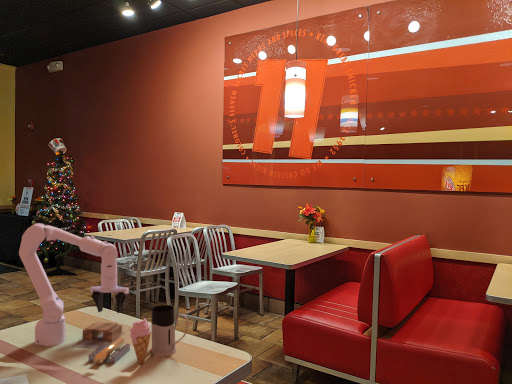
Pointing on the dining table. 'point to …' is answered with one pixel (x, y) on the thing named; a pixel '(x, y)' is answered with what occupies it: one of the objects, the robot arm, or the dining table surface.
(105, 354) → the axle
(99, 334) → the bridge block
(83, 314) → the dining table surface
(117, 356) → the v block
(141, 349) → the ice cream cone
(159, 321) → the glass holder
